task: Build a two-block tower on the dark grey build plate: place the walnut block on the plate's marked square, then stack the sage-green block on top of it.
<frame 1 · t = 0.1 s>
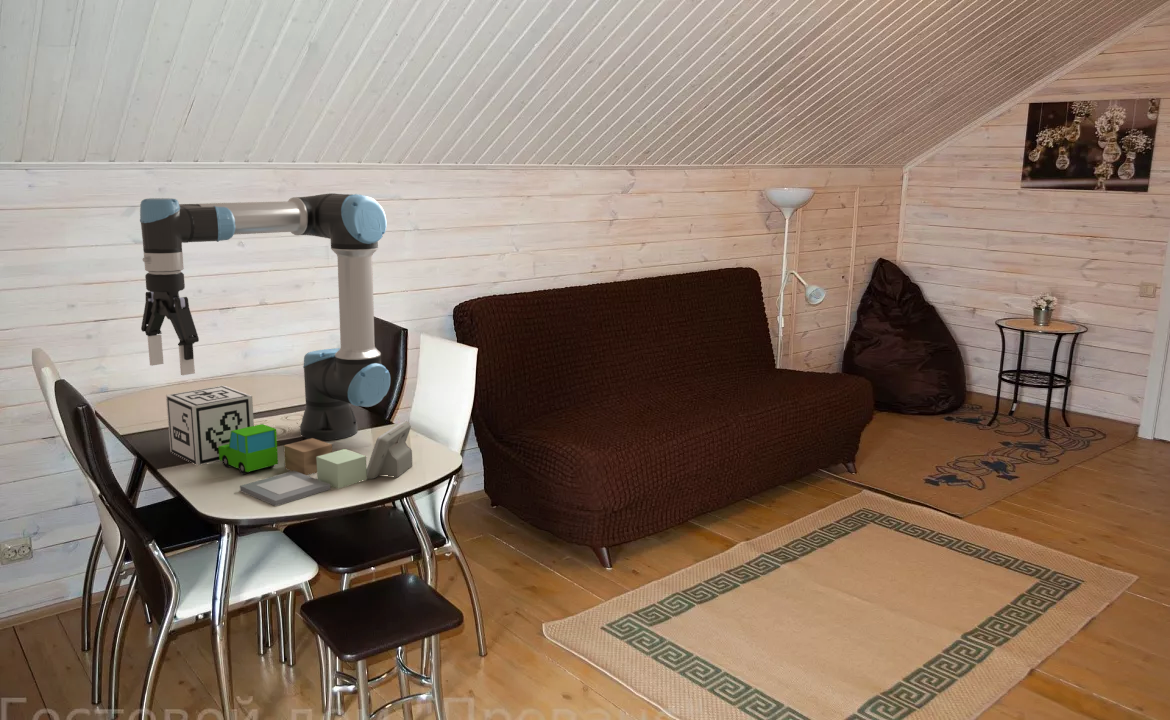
hand: (172, 369, 199), 28 cm above the table, tool pointing down, fingers open, 13 cm apart
build plate: (285, 489, 207), on the table
green block: (342, 480, 214), on the table
walnut block: (309, 468, 222), on the table
toy car: (248, 467, 222), on the table
digital clock: (389, 471, 222), on the table
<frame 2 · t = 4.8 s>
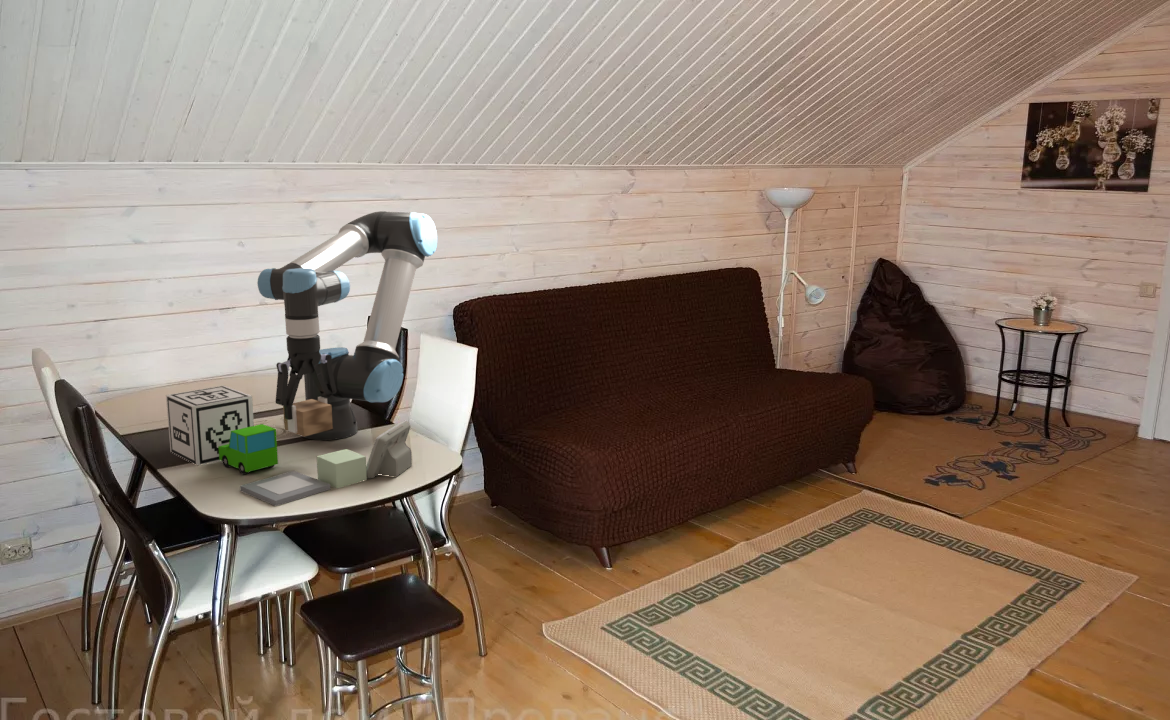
hand: (308, 427, 220), 10 cm above the table, tool pointing down, fingers closed on walnut block, 8 cm apart
walnut block: (308, 429, 220), point 10 cm above the table, touching gripper
everything else where it was.
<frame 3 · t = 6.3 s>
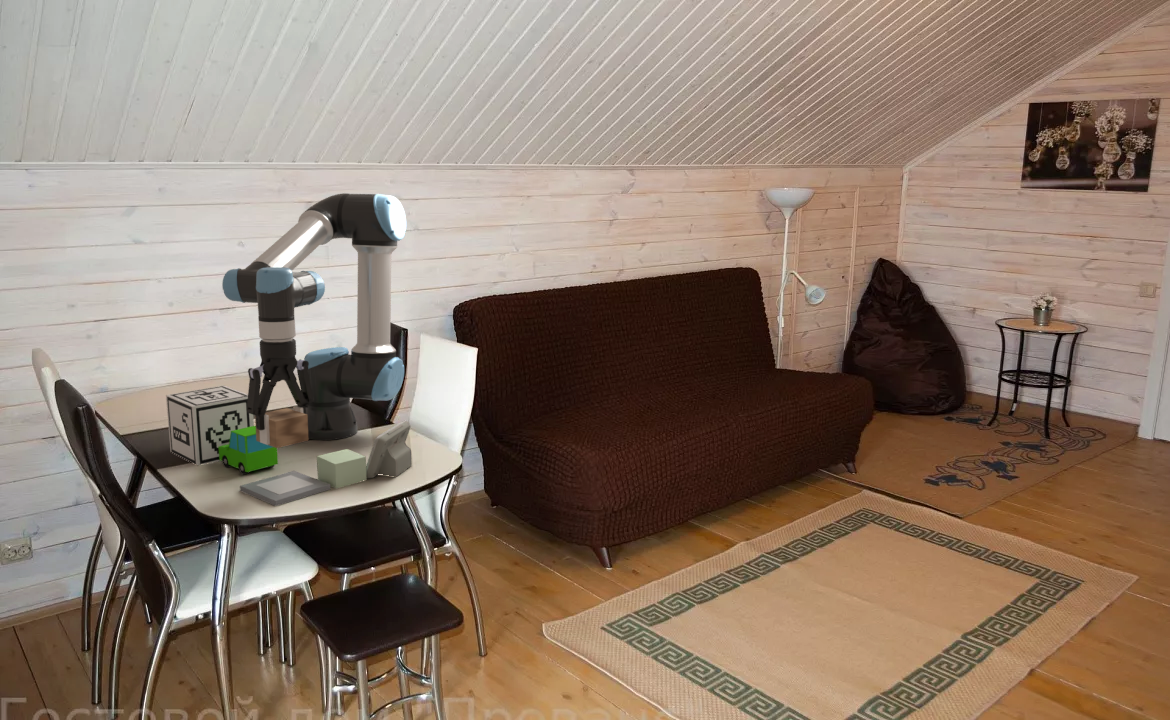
hand: (282, 438, 204), 12 cm above the table, tool pointing down, fingers closed on walnut block, 8 cm apart
walnut block: (282, 440, 204), point 12 cm above the table, touching gripper
everything else where it was.
when the fingers open (2 cm above the table, at t = 8.4 s): walnut block stays where it is, resting on build plate.
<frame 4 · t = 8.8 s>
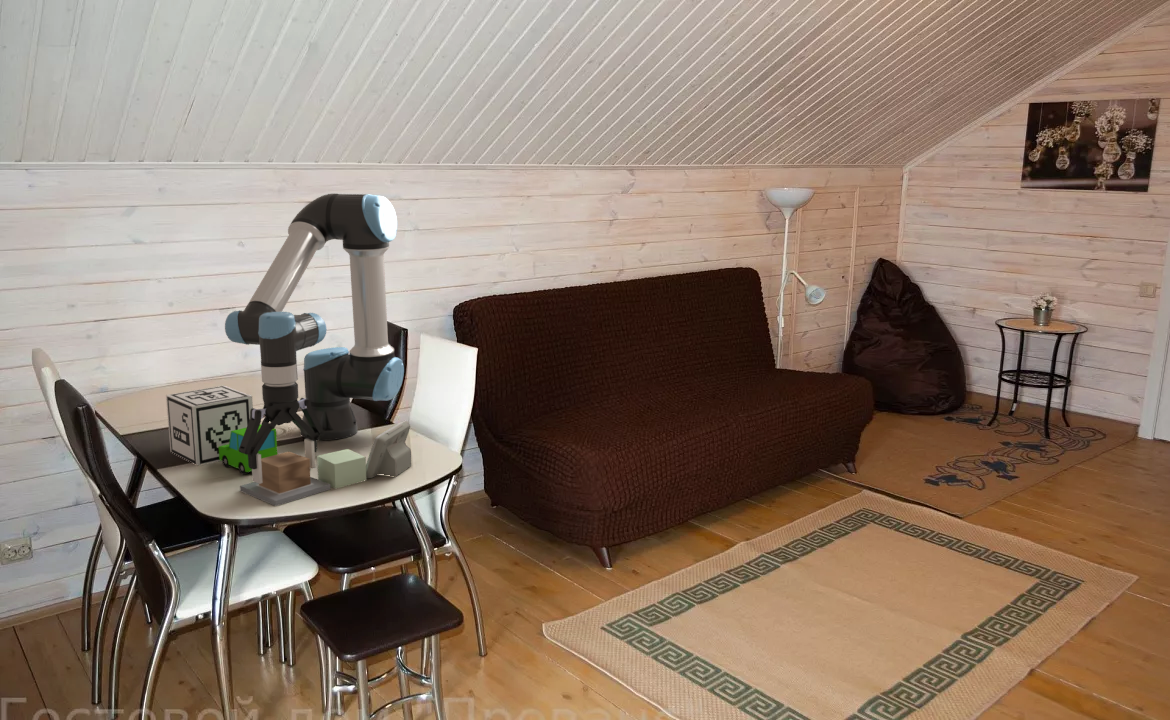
hand: (284, 474, 206), 4 cm above the table, tool pointing down, fingers open, 13 cm apart
walnut block: (284, 484, 207), point 1 cm above the table, touching build plate
everything else where it was.
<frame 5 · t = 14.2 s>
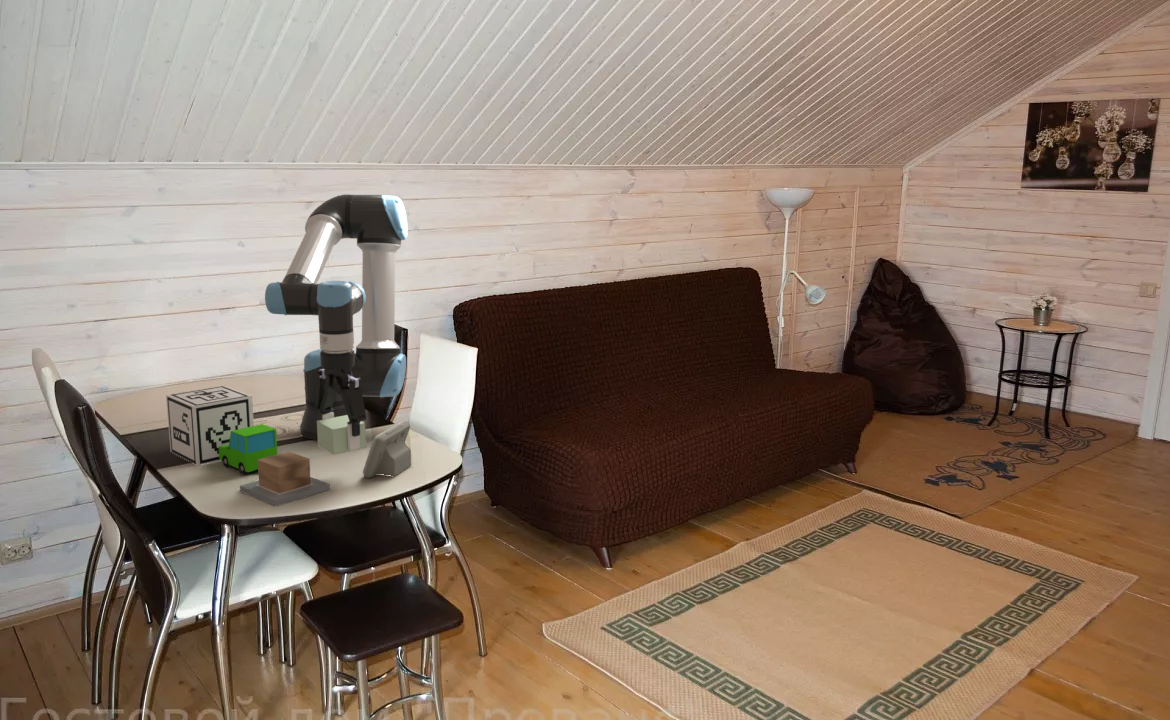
hand: (341, 444, 213), 9 cm above the table, tool pointing down, fingers closed on green block, 9 cm apart
green block: (341, 446, 213), point 8 cm above the table, touching gripper
everything else where it was.
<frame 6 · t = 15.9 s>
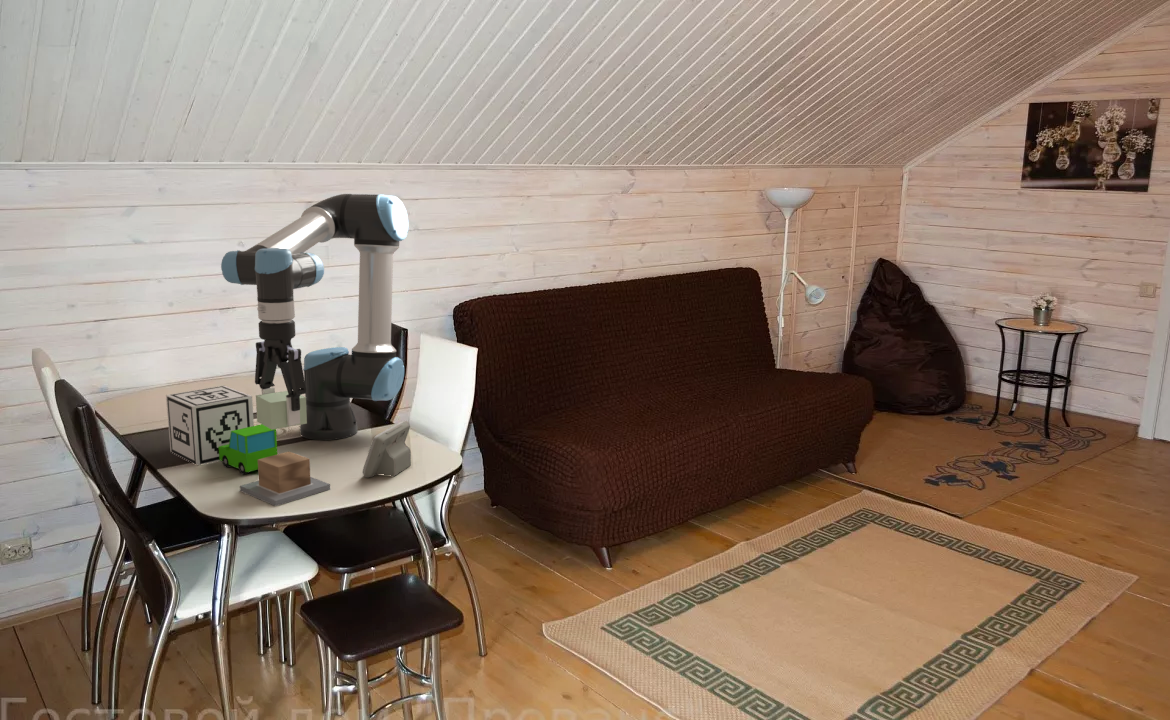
hand: (281, 420, 203), 16 cm above the table, tool pointing down, fingers closed on green block, 9 cm apart
green block: (281, 422, 204), point 16 cm above the table, touching gripper
everything else where it was.
when the fingers open (8 cm above the table, at t = 18.0 s): green block stays where it is, resting on walnut block.
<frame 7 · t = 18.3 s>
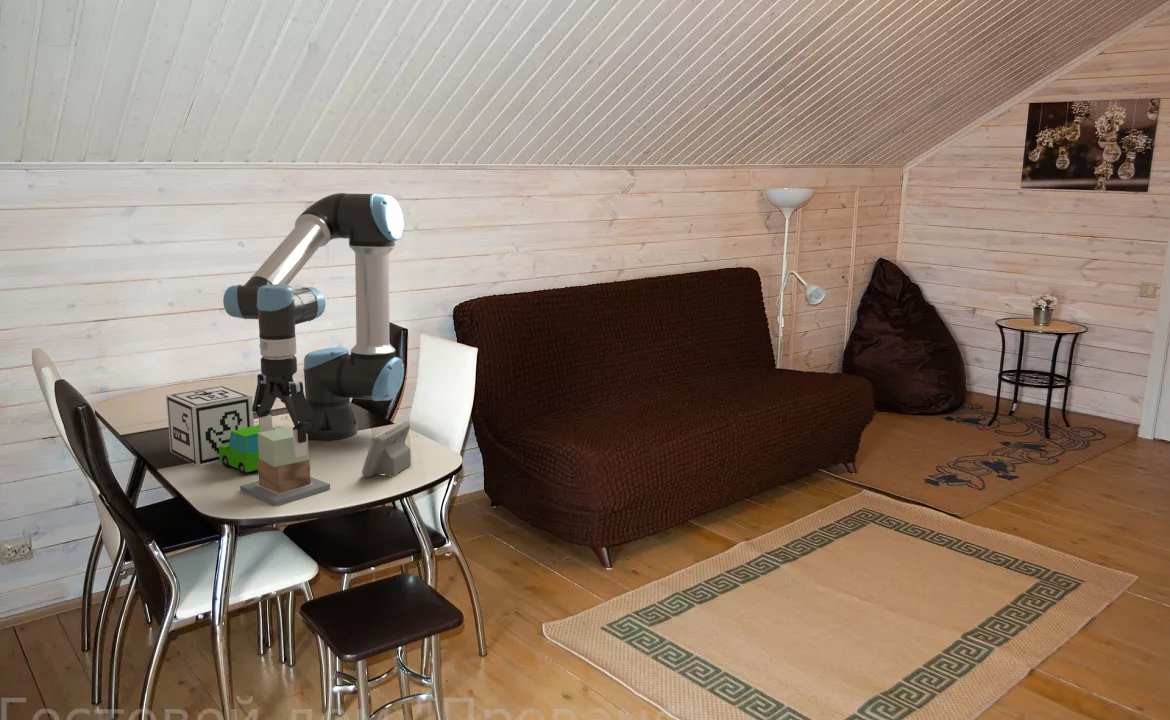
hand: (283, 450, 205), 9 cm above the table, tool pointing down, fingers open, 12 cm apart
green block: (283, 459, 205), point 7 cm above the table, touching walnut block
walnut block: (284, 484, 207), point 1 cm above the table, touching build plate, green block
everything else where it was.
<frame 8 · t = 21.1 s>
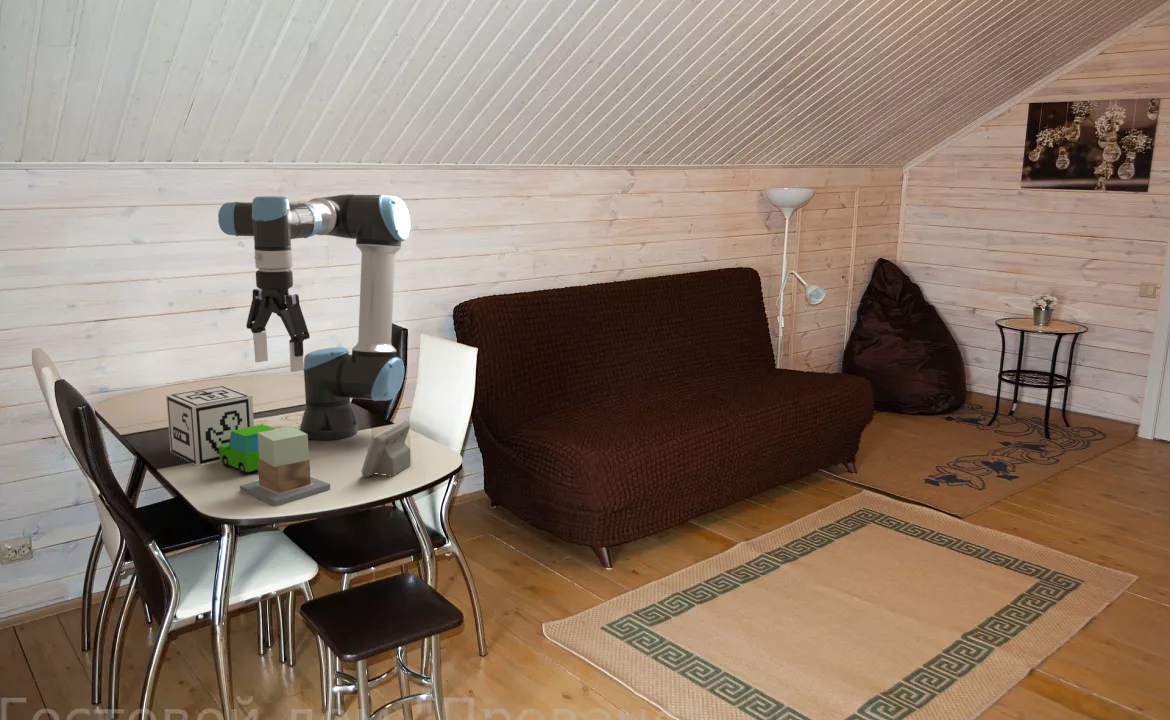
hand: (279, 366, 201), 29 cm above the table, tool pointing down, fingers open, 13 cm apart
at the end: walnut block inside the target area on the build plate (0.0 cm from its centre), point 1.3 cm above the build plate's base; green block 0.1 cm off-centre on the walnut block, point 6.0 cm above the walnut block's base; green block tilted 0° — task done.
